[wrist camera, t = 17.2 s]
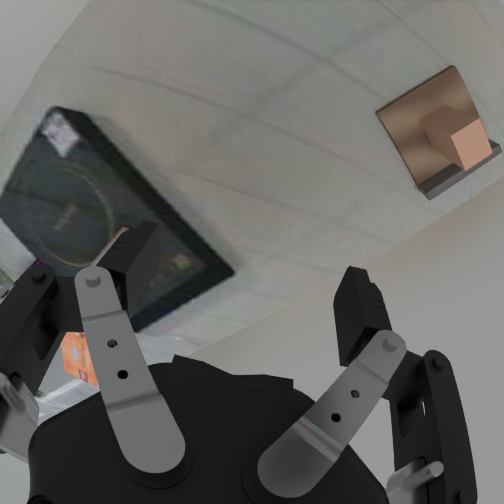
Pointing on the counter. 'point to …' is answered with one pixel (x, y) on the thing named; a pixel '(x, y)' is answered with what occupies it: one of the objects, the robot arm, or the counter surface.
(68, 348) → the cracker box
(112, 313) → the robot arm
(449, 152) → the carton
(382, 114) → the shelf board
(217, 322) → the counter surface
